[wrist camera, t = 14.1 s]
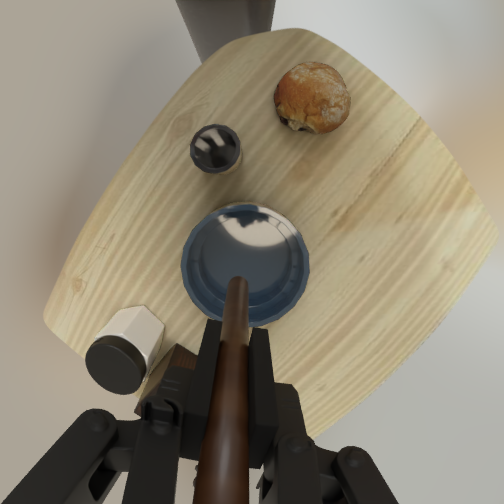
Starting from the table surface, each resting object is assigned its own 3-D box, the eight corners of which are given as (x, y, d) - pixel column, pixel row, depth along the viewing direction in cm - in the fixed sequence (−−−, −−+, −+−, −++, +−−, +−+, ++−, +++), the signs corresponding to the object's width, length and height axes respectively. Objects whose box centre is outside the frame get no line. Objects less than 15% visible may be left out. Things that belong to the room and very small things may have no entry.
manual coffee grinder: (145, 379, 46) (111, 454, 29) (176, 340, 44) (144, 420, 27) (216, 421, 49) (208, 499, 31) (253, 389, 47) (256, 473, 29)
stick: (230, 271, 24) (189, 526, 5) (250, 275, 24) (255, 533, 5) (227, 289, 24) (187, 541, 5) (246, 293, 24) (243, 548, 5)
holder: (205, 132, 37) (195, 120, 29) (246, 139, 37) (245, 129, 30) (197, 170, 38) (184, 168, 31) (237, 178, 39) (235, 177, 31)
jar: (120, 296, 42) (85, 331, 31) (168, 313, 43) (145, 355, 31) (114, 342, 44) (84, 383, 33) (159, 358, 45) (138, 405, 33)
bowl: (201, 190, 39) (193, 192, 33) (312, 214, 40) (323, 220, 34) (183, 296, 43) (174, 313, 37) (285, 316, 43) (291, 336, 38)
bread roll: (339, 128, 40) (376, 110, 33) (290, 150, 37) (326, 131, 30) (307, 73, 38) (339, 48, 31) (253, 88, 35) (282, 57, 28)
